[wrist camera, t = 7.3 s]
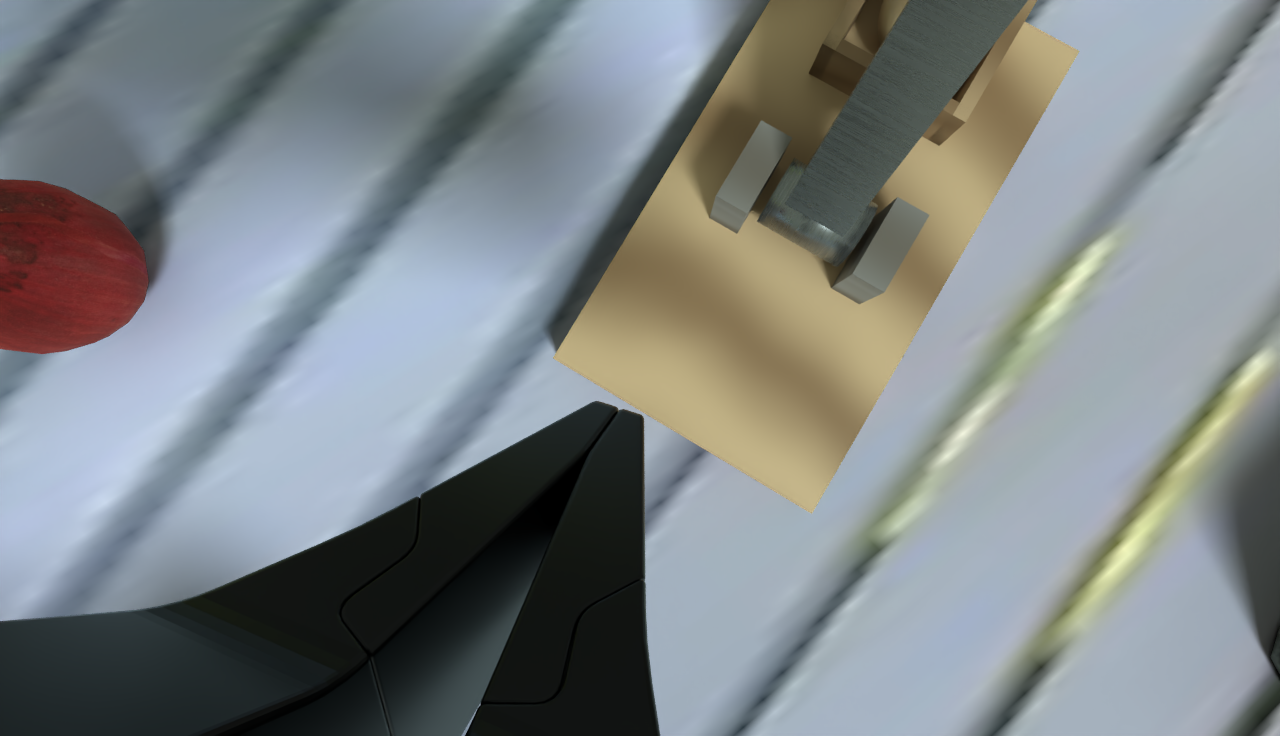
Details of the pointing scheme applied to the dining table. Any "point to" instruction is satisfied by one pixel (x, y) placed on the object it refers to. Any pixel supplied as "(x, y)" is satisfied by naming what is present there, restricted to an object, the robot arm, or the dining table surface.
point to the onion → (63, 269)
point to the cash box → (1276, 652)
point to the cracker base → (799, 248)
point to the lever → (883, 122)
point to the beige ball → (889, 16)
